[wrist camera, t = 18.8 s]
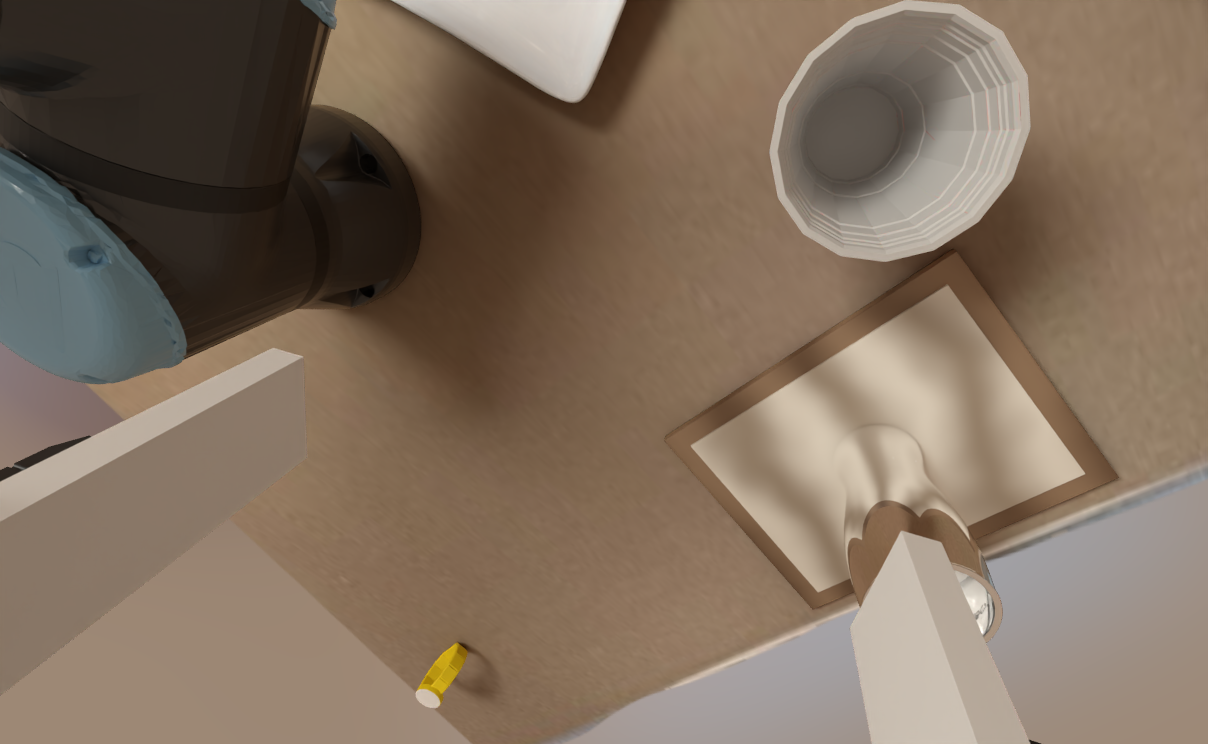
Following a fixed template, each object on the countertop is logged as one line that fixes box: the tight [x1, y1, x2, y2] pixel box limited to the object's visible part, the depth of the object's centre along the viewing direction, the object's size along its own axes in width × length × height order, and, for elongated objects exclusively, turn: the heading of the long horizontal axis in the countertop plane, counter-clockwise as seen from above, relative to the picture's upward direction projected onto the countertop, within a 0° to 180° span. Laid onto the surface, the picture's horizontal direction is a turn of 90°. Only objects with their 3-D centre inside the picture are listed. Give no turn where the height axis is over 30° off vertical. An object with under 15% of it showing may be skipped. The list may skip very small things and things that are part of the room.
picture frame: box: [664, 249, 1119, 609], centre depth 44 cm, size 24×20×1 cm
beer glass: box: [833, 425, 1003, 643], centre depth 37 cm, size 7×7×15 cm
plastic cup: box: [769, 0, 1031, 262], centre depth 31 cm, size 11×11×12 cm
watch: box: [416, 642, 468, 708], centre depth 62 cm, size 6×3×6 cm, turn 137°
